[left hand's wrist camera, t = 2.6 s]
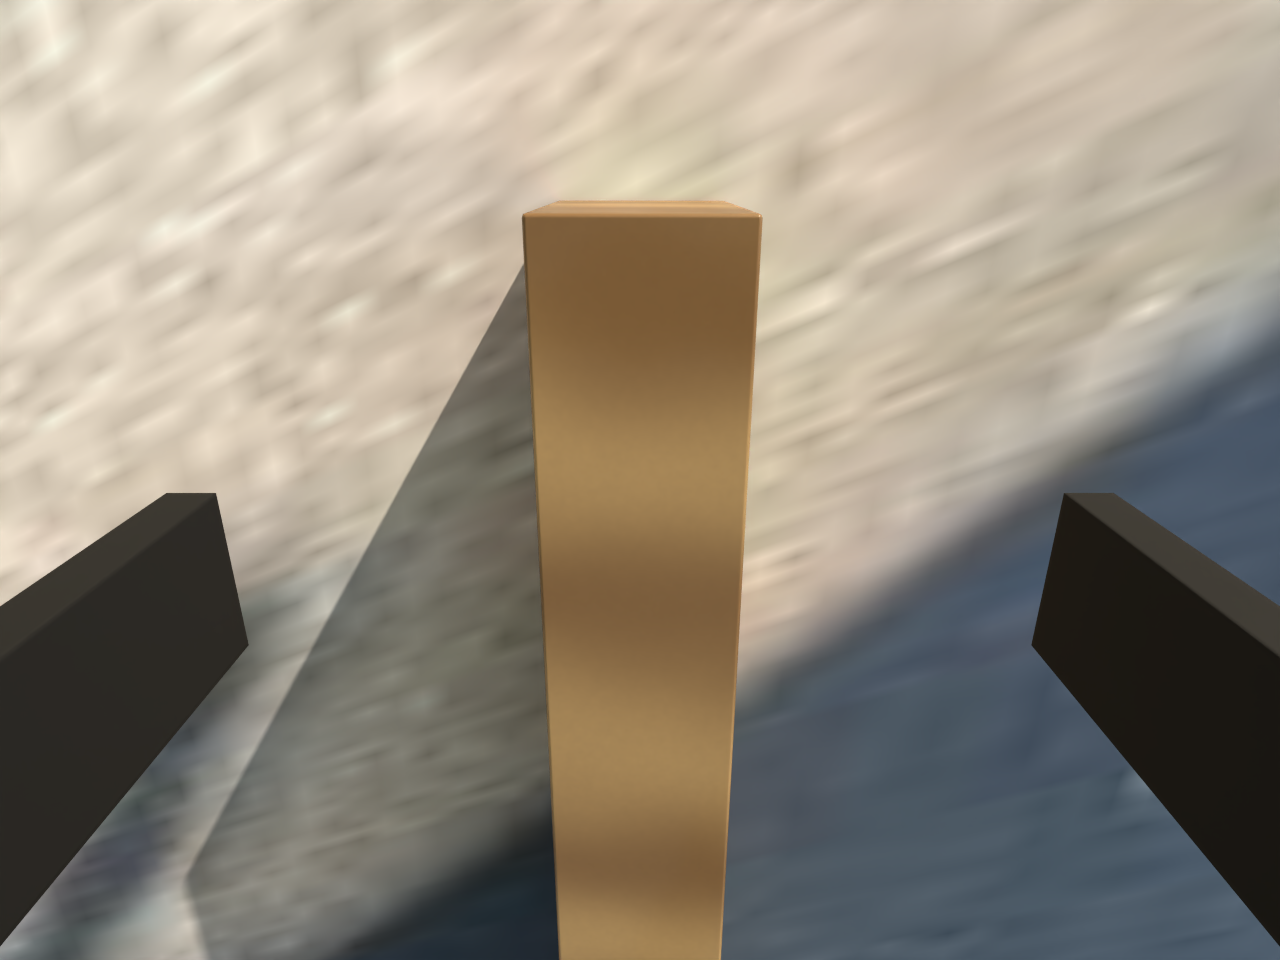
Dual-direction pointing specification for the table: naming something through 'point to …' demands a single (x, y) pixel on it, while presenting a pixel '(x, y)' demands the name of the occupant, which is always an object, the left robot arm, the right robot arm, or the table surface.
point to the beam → (641, 556)
